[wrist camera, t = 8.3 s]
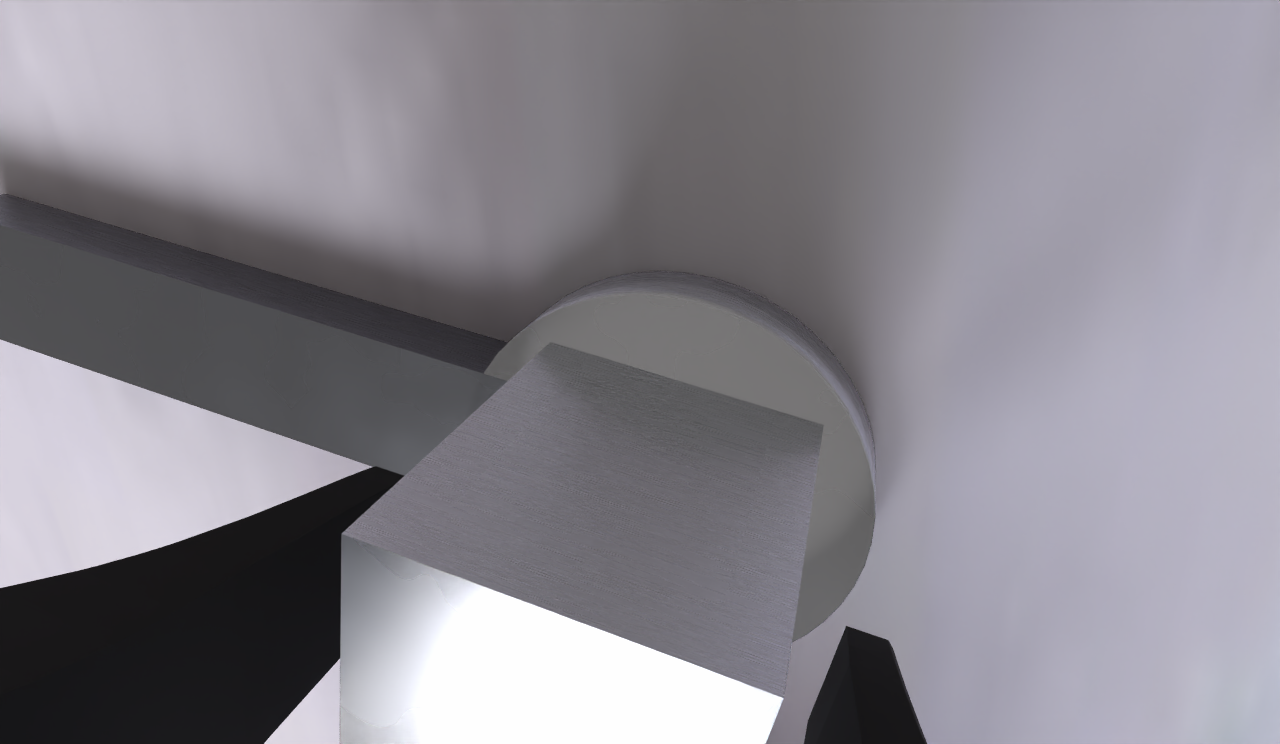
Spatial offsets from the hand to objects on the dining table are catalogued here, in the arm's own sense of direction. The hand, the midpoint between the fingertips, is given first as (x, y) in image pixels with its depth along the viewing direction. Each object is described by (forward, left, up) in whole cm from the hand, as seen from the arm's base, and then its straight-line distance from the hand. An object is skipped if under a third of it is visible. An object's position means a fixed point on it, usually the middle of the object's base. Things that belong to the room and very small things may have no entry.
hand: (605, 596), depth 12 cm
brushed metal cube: (0, 0, -3) cm, 3 cm away
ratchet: (0, +6, -4) cm, 8 cm away
